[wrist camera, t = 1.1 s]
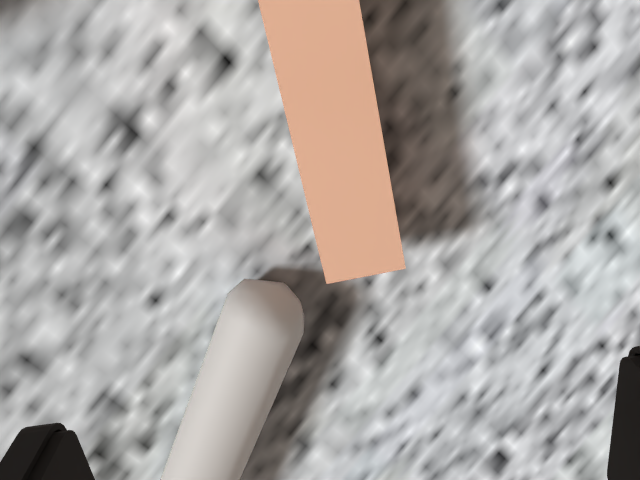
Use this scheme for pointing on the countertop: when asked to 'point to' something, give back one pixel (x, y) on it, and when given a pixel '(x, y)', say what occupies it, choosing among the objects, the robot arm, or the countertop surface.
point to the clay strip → (335, 133)
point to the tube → (237, 382)
